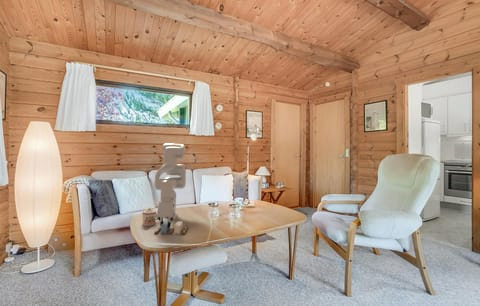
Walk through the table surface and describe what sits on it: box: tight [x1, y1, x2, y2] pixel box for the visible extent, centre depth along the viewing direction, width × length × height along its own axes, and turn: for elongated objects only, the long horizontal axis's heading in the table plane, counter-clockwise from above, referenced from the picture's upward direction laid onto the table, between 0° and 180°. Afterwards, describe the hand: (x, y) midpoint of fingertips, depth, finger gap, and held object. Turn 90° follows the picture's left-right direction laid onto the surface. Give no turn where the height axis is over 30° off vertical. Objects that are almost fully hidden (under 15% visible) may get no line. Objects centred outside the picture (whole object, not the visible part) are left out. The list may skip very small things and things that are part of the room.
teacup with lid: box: [142, 207, 158, 227], centre depth 171 cm, size 12×9×12 cm
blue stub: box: [161, 220, 171, 233], centre depth 154 cm, size 9×4×5 cm, turn 3°
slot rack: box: [153, 225, 189, 236], centre depth 155 cm, size 14×19×2 cm
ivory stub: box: [173, 220, 184, 234], centre depth 155 cm, size 9×4×5 cm, turn 2°
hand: (165, 227), depth 154 cm, fingers closed on blue stub, 3 cm apart
